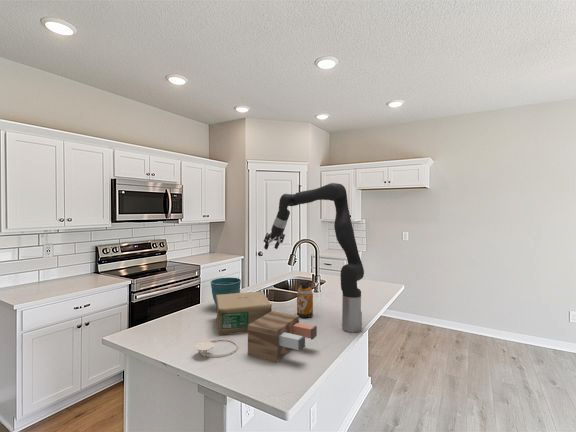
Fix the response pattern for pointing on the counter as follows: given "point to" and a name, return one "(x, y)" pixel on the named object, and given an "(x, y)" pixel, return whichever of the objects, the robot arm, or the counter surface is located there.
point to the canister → (305, 300)
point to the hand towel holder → (209, 345)
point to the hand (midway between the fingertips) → (270, 248)
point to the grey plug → (292, 341)
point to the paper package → (240, 311)
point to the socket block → (270, 335)
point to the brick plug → (304, 330)
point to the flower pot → (225, 286)
